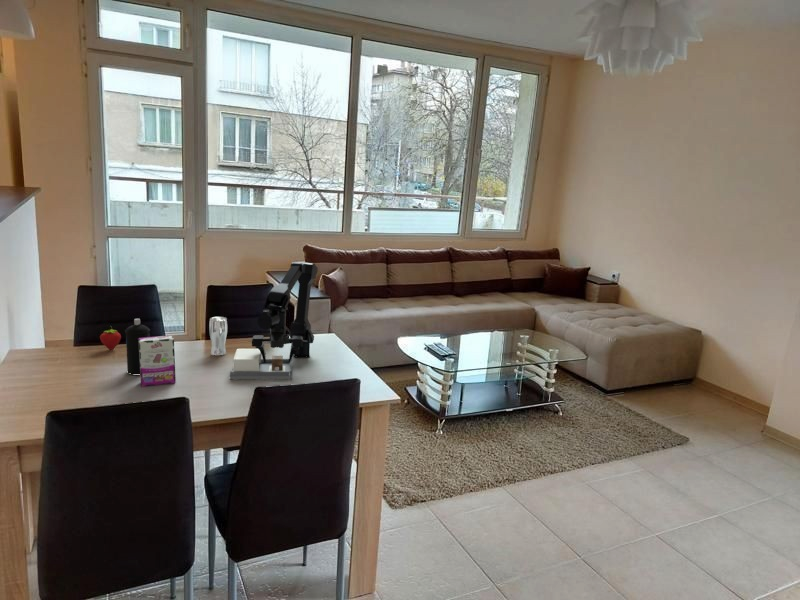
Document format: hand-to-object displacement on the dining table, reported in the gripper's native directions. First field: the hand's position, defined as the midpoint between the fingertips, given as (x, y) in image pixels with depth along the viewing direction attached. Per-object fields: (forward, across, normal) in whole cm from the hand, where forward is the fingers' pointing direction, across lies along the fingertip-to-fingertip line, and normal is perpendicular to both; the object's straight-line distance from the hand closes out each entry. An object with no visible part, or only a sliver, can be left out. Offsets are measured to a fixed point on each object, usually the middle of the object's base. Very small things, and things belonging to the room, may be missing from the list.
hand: (277, 362), depth 204 cm
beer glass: (+4, -24, +22) cm, 33 cm away
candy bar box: (+4, -40, -10) cm, 42 cm away
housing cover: (+2, -11, 0) cm, 11 cm away
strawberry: (+4, -67, +26) cm, 72 cm away
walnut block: (+2, 0, 0) cm, 2 cm away
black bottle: (+4, -50, 0) cm, 50 cm away
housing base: (+4, -6, 0) cm, 7 cm away
